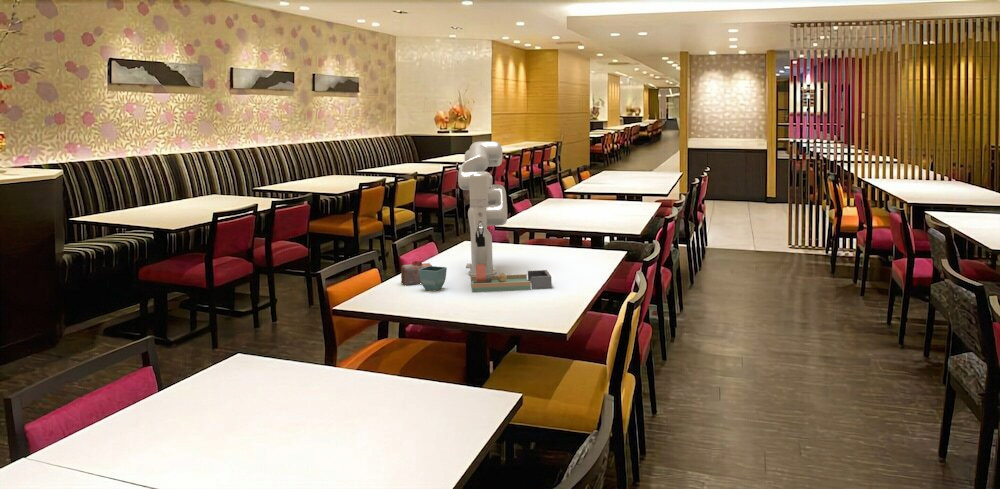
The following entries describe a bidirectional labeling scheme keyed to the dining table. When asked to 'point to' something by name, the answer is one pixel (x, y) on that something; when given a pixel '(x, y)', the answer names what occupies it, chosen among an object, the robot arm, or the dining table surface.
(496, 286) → the pitch
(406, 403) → the dining table surface
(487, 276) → the silver-capped pink block
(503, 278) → the ball
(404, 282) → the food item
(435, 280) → the flower pot
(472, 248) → the robot arm
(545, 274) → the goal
